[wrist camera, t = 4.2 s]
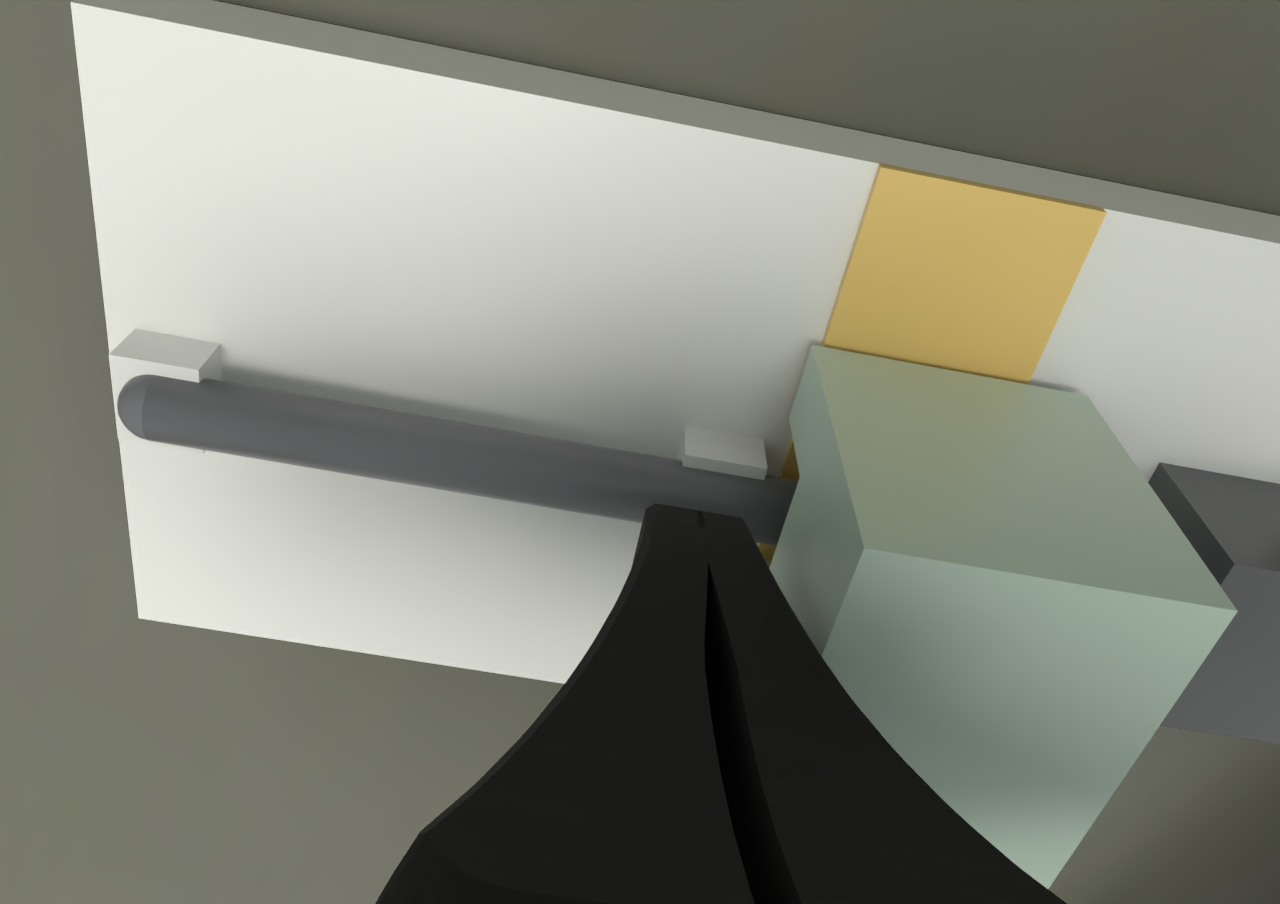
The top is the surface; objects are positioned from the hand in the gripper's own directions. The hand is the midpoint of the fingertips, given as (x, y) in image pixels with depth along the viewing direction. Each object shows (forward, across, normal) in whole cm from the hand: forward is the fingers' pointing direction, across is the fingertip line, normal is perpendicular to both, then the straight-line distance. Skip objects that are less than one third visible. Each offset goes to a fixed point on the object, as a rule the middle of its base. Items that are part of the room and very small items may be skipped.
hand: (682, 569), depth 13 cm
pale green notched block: (+2, -3, 0) cm, 4 cm away
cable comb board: (+4, 0, 0) cm, 4 cm away
